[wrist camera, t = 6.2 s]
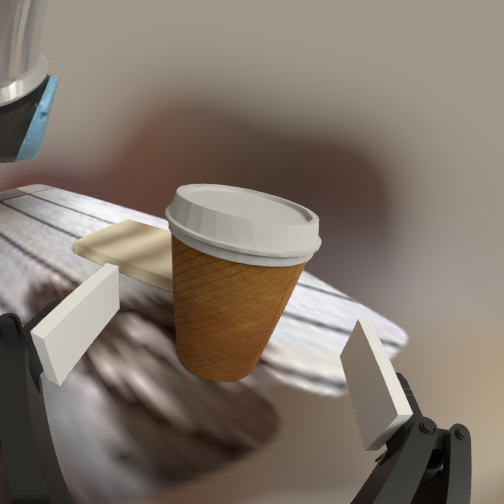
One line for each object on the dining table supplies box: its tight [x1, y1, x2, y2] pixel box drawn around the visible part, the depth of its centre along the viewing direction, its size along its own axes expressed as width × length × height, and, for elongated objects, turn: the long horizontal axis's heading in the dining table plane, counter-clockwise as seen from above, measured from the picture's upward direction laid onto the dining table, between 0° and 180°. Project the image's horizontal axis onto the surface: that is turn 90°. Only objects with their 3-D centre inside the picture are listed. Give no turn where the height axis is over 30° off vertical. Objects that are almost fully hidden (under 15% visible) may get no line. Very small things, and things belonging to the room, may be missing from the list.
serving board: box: [74, 219, 173, 293], centre depth 33 cm, size 19×12×2 cm, turn 76°
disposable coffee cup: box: [166, 184, 321, 382], centre depth 19 cm, size 10×10×12 cm
